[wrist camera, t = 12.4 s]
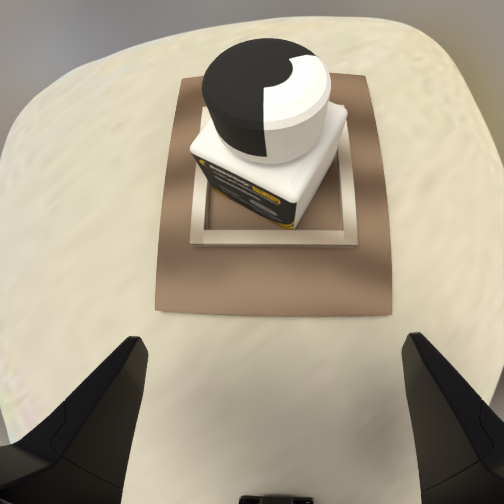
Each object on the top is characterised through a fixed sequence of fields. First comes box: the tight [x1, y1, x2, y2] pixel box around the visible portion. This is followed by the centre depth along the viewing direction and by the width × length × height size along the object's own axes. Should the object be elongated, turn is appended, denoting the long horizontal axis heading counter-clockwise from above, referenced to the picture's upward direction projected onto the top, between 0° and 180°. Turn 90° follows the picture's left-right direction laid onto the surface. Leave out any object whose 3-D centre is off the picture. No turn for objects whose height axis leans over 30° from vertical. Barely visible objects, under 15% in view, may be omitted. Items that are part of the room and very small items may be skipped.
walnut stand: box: [155, 73, 392, 316], centre depth 23 cm, size 22×18×2 cm
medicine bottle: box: [190, 38, 348, 230], centre depth 18 cm, size 7×7×12 cm
